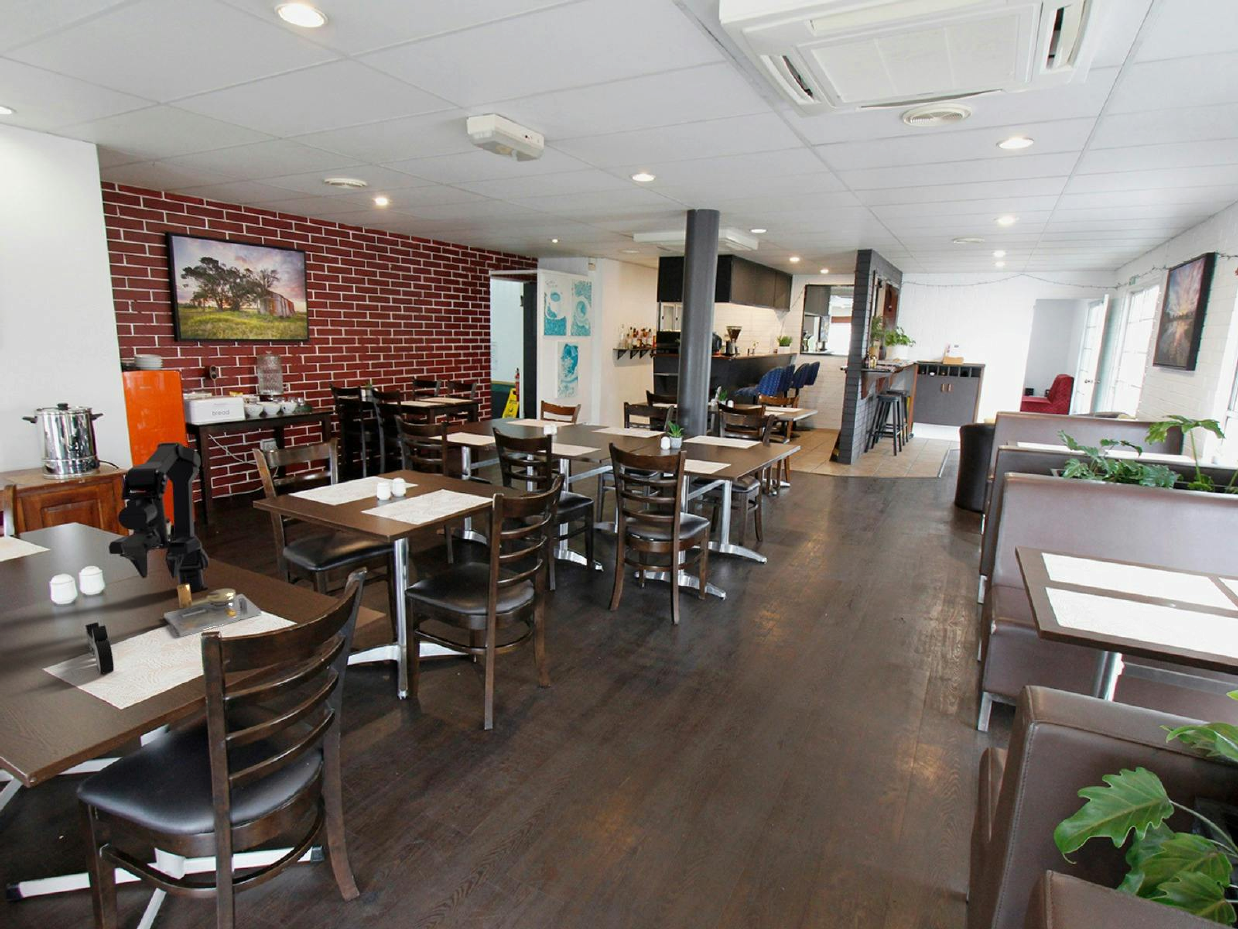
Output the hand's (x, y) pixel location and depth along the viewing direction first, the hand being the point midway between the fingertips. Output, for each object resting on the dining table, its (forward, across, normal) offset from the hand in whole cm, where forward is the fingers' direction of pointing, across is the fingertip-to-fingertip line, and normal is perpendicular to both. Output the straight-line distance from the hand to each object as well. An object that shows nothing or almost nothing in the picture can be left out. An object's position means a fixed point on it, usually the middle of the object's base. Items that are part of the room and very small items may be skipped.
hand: (159, 577), depth 160 cm
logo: (+12, -2, -19) cm, 23 cm away
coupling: (+8, +8, +5) cm, 13 cm away
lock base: (+12, +10, +2) cm, 16 cm away
